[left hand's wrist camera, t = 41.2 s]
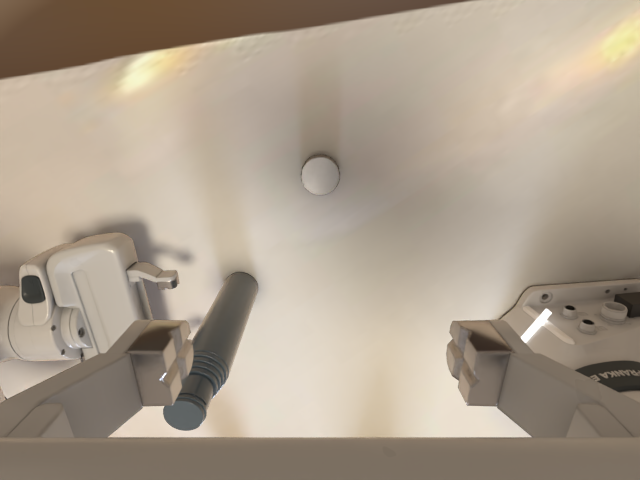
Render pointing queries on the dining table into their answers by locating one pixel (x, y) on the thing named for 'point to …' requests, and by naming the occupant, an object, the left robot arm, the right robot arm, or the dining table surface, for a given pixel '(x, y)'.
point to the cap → (320, 174)
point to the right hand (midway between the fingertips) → (184, 315)
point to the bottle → (213, 351)
